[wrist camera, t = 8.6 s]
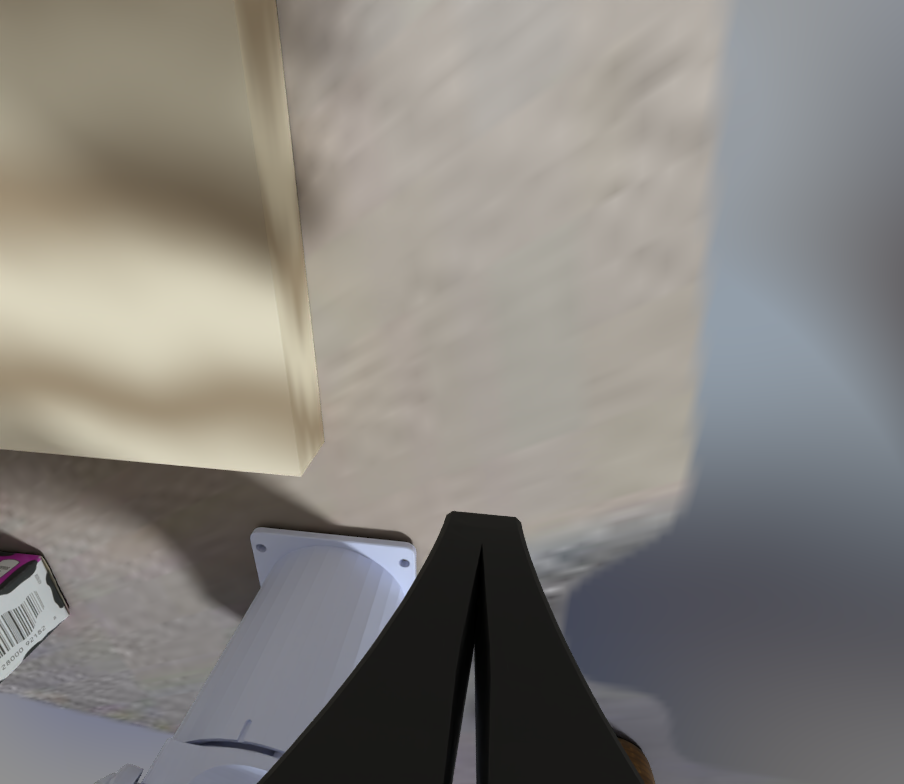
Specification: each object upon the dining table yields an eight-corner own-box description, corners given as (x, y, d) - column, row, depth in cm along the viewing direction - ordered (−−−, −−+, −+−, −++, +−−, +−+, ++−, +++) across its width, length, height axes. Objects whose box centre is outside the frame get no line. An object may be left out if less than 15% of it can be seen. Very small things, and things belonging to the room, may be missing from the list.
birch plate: (324, 441, 20) (301, 476, 18) (46, 418, 21) (-9, 448, 19) (258, -152, 12) (201, -227, 10) (-184, -140, 13) (-329, -205, 11)
